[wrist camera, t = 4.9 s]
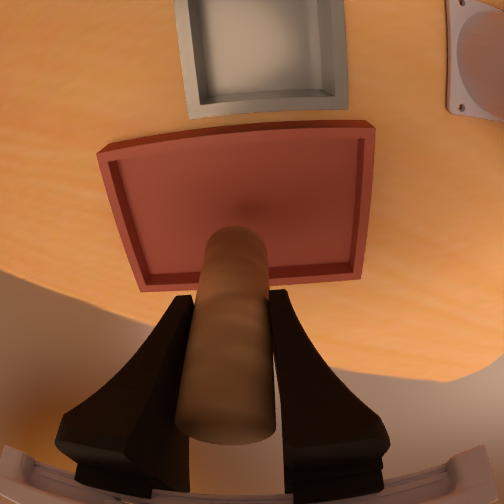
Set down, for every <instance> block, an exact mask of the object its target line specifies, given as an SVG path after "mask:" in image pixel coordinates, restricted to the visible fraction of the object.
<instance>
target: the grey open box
mask: <svg viewBox="0 0 504 504" xmlns="http://www.w3.org/2000/svg"><path fill="white" fill-rule="evenodd" d="M174 10H175V19H176V27H177V36H178V44H179V52H180V60H181V67H182V75H183V82H184V89H185V96H186V103H187V110H188V117H189V120H191V119H198V118H206V117H215V116H224V115H234V114H245V113H257V112H272V111H293V110H348V70H347V45H346V27H345V13H344V1H343V0H174Z"/></svg>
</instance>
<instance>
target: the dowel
mask: <svg viewBox="0 0 504 504" xmlns="http://www.w3.org/2000/svg"><path fill="white" fill-rule="evenodd" d="M268 290H270V287H269V269H268V252H267V246H266V243H265V241H264V239H263V238H262V237H261V236H260V235H259V234H258V233H257V232H255V231H254V230H252V229H250V228H247V227H243V226H228V227H224V228H222V229H220V230H218V231H216V232H215V233H214V234H213V235H212V236H211V237H210V238H209V240H208V242H207V245H206V250H205V254H204V259H203V264H202V269H201V274H200V279H199V284H198V289H197V294H196V299H195V304H194V310H193V315H192V320H191V326H190V331H189V337H188V342H187V348H186V354H185V359H184V365H183V371H182V377H181V383H180V389H179V396H178V402H177V409H176V415H175V425H176V427H177V428H178V429H179V430H180V431H181V432H182V433H184V434H185V435H187V436H189V437H191V438H194V439H196V440H200V441H203V442H207V443H212V444H219V445H244V444H251V443H256V442H259V441H262V440H264V439H267V438H268V437H270V436H271V435H272V434H273V433H274V432H275V430H276V413H275V391H274V390H275V389H274V368H273V345H272V330H271V323H270V311H269V292H268Z"/></svg>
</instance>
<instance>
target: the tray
mask: <svg viewBox="0 0 504 504" xmlns="http://www.w3.org/2000/svg"><path fill="white" fill-rule="evenodd" d="M374 149H375V127H373V126H372V125H371V124H369V123H368V122H366V121H364V120H317V121H288V122H270V123H255V124H243V125H232V126H222V127H213V128H204V129H196V130H188V131H181V132H174V133H168V134H161V135H155V136H149V137H143V138H138V139H132V140H127V141H122V142H117V143H112V144H108V145H107V146H105V147H104V148H103V149H102V150H100V151H99V152H98V153H97V154H96V155H97V159H98V163H99V167H100V171H101V174H102V178H103V181H104V185H105V188H106V192H107V195H108V199H109V202H110V205H111V209H112V212H113V215H114V218H115V221H116V224H117V228H118V231H119V234H120V237H121V240H122V243H123V246H124V248H125V251H126V254H127V257H128V260H129V263H130V265H131V268H132V271H133V274H134V276H135V279H136V282H137V284H138V287H139V289H140V292H161V291H186V290H197V289H198V284H199V279H200V274H201V269H202V264H203V259H204V254H205V250H206V245H207V242H208V240H209V238H210V237H211V236H212V235H213V234H214V233H215V232H216V231H218V230H220V229H222V228H224V227H228V226H243V227H247V228H250V229H252V230H254V231H255V232H257V233H258V234H259V235H260V236H261V237H262V238H263V239H264V241H265V243H266V246H267V252H268V269H269V286H277V285H292V284H306V283H320V282H333V281H345V280H357V279H361V274H362V267H363V260H364V253H365V245H366V238H367V229H368V221H369V211H370V202H371V191H372V179H373V165H374Z"/></svg>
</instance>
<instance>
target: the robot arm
mask: <svg viewBox="0 0 504 504" xmlns="http://www.w3.org/2000/svg"><path fill="white" fill-rule="evenodd" d="M460 1H461V2H462V5H460V4H459V0H446V9H447V26H448V87H447V109H448V111H449V112H450V113H452V114H455V115H462V116H469V117H475V118H482V119H488V120H493V121H499V122H504V11H502V10H500V9H498V8H495V7H493V6H490V5H488V4H485V3H482V2H479V1H477V0H460ZM460 104H461V105H462V108H461V110H459V105H460ZM268 292H269V311H270V323H271V330H272V345H273V355H274V362H275V368H276V375H277V380H278V388H279V394H280V402H281V419H282V437H283V438H282V439H283V461H284V486H285V494H277V495H211V494H195V493H189V492H190V480H189V436H187V435H185V434H184V433H182V432H181V431H180V430H179V429H178V428H177V427H176V425H175V415H176V409H177V402H178V396H179V389H180V383H181V377H182V371H183V365H184V359H185V354H186V348H187V342H188V337H189V331H190V326H191V320H192V315H193V310H194V303H193V300H192V296H191V295H180V296H176V297H175V298H174V299H173V301H172V303H171V304H170V306H169V307H168V309H167V310H166V312H165V313H164V315H163V316H162V318H161V319H160V321H159V322H158V324H157V325H156V327H155V328H154V329H153V331H152V332H151V334H150V335H149V336H148V338H147V339H146V340H145V342H144V343H143V344H142V346H141V347H140V348H139V349H138V351H137V352H136V353H135V354H134V356H133V357H132V358H131V359H130V360H129V361H128V362H127V363H126V365H125V366H124V367H123V368H122V369H121V370H120V371H119V372H118V373H117V374H116V375H115V376H114V377H113V378H112V379H110V380H109V381H108V382H107V383H106V384H105V385H104V386H103V387H102V388H101V389H99V390H98V391H97V392H96V393H94V394H93V395H92V396H90V397H89V398H88V399H86V400H85V401H84V402H82V403H81V404H79V405H78V406H77V407H75V408H73V409H72V410H70V411H69V412H67V413H65V414H64V415H63V417H62V420H61V423H60V426H59V429H58V432H57V436H56V439H55V445H56V447H57V448H58V449H59V450H60V451H61V452H62V453H63V454H65V455H66V456H68V457H69V458H70V459H72V460H73V461H75V462H76V463H78V465H77V469H76V473H74V472H70V471H67V470H64V469H61V468H58V467H54V466H51V465H48V464H45V463H42V462H39V461H36V460H35V459H34V458H33V457H31V456H30V455H28V454H26V453H25V452H23V451H20V450H18V449H15V448H13V447H10V446H8V445H5V446H4V449H3V452H2V455H1V459H0V495H2V496H4V497H6V498H7V499H9V500H11V501H13V502H15V503H17V504H129V503H133V504H491V503H493V502H495V501H497V500H498V498H499V497H498V493H497V489H496V485H495V481H494V477H493V474H492V469H491V466H490V463H489V459H488V456H487V452H486V449H485V446H484V445H480V446H477V447H475V448H472V449H470V450H467V451H464V452H461V453H459V454H457V455H455V456H453V457H452V458H450V459H449V460H448V461H447V463H444V464H441V465H438V466H435V467H431V468H428V469H425V470H421V471H418V472H414V473H411V474H407V475H403V476H399V477H395V478H391V479H386V480H383V476H382V471H381V469H383V462H382V457H383V455H384V454H385V453H386V452H387V450H388V449H389V447H390V445H391V444H390V439H389V436H388V433H387V431H386V428H385V426H384V424H383V423H382V420H381V418H380V417H379V416H378V415H377V414H376V413H375V412H373V411H372V410H371V409H370V408H369V407H368V406H366V405H365V404H364V403H363V402H362V401H361V400H360V399H359V398H357V397H356V396H355V395H354V394H353V393H352V392H351V391H350V390H349V389H348V388H347V387H346V385H345V384H344V383H343V382H342V381H341V380H340V379H339V378H338V377H337V376H336V375H335V374H334V372H333V371H332V370H331V369H330V367H329V366H328V365H327V364H326V362H325V361H324V360H323V358H322V357H321V356H320V354H319V353H318V351H317V350H316V349H315V347H314V345H313V344H312V342H311V341H310V339H309V338H308V336H307V334H306V333H305V331H304V329H303V327H302V325H301V324H300V322H299V320H298V318H297V316H296V314H295V312H294V309H293V307H292V305H291V302H290V299H289V296H288V292H287V291H286V290H285V289H280V290H268ZM121 501H123V502H121ZM125 502H128V503H125Z"/></svg>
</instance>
